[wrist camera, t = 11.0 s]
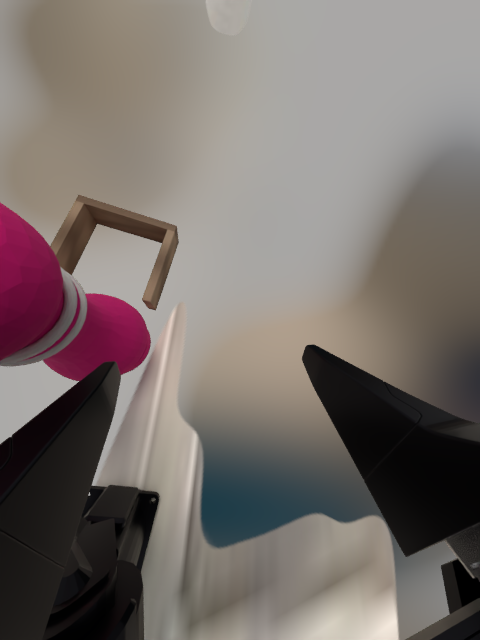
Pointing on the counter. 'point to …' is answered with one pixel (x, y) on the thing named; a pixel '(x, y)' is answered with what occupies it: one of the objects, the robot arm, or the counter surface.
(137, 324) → the pepper mill
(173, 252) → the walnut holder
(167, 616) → the counter surface
